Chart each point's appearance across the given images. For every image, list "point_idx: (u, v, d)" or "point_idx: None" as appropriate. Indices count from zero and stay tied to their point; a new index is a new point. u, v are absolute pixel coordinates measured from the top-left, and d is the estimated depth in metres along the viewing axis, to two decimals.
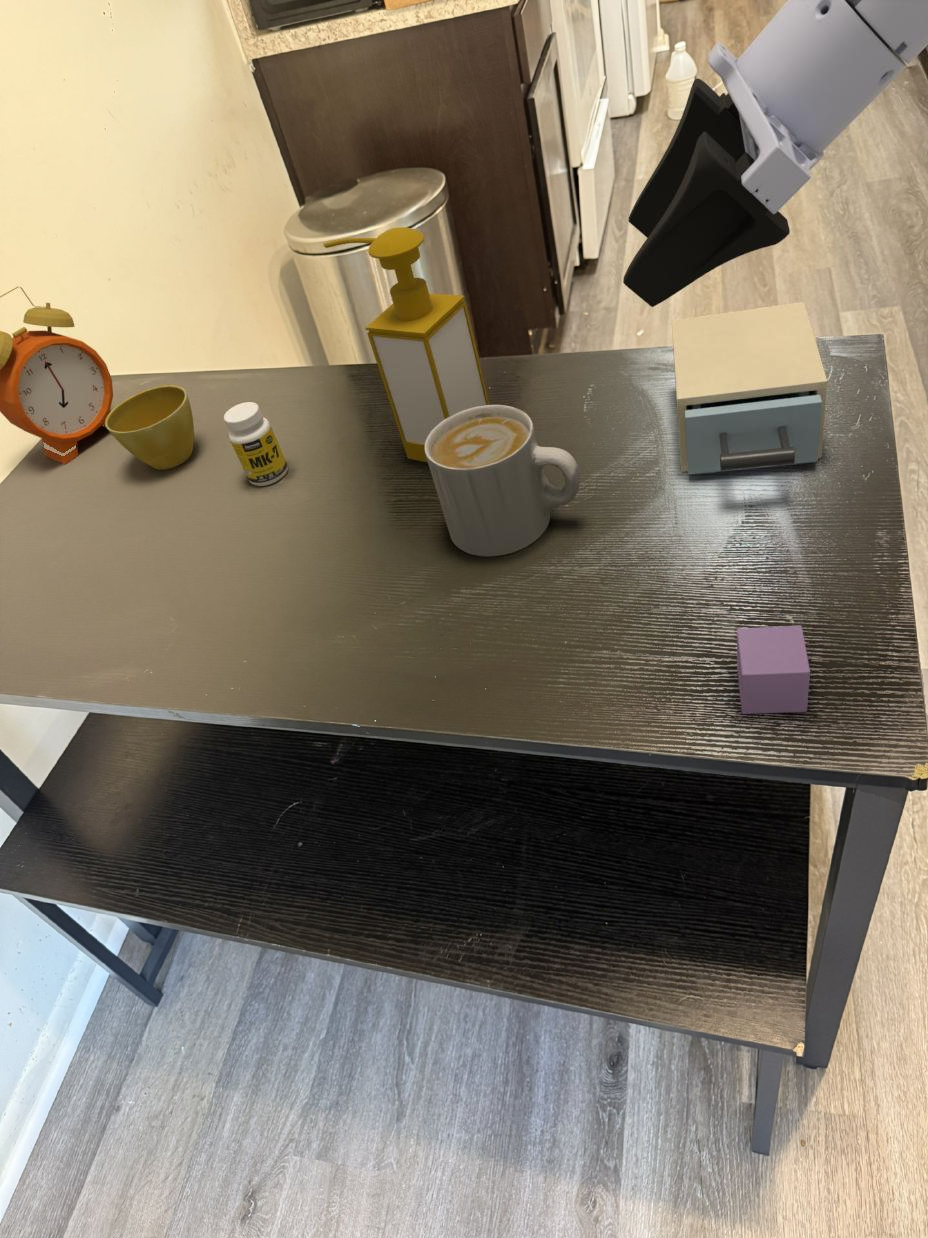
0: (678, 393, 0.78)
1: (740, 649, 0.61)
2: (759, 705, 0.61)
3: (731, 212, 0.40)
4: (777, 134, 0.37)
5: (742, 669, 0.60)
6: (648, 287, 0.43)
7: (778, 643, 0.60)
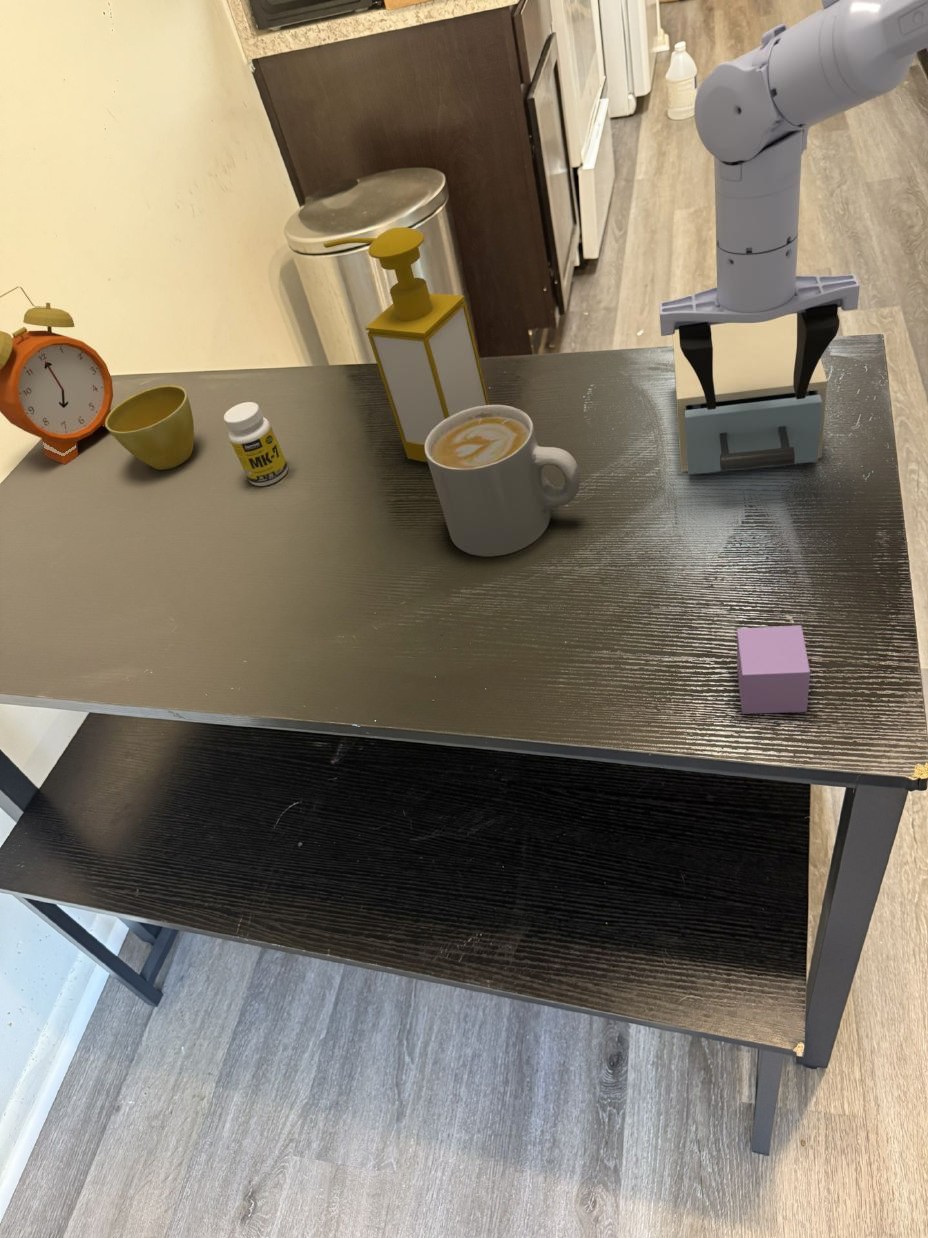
0: (678, 393, 0.78)
1: (740, 649, 0.61)
2: (759, 705, 0.61)
3: None
4: (692, 301, 0.68)
5: (742, 669, 0.60)
6: None
7: (778, 643, 0.60)
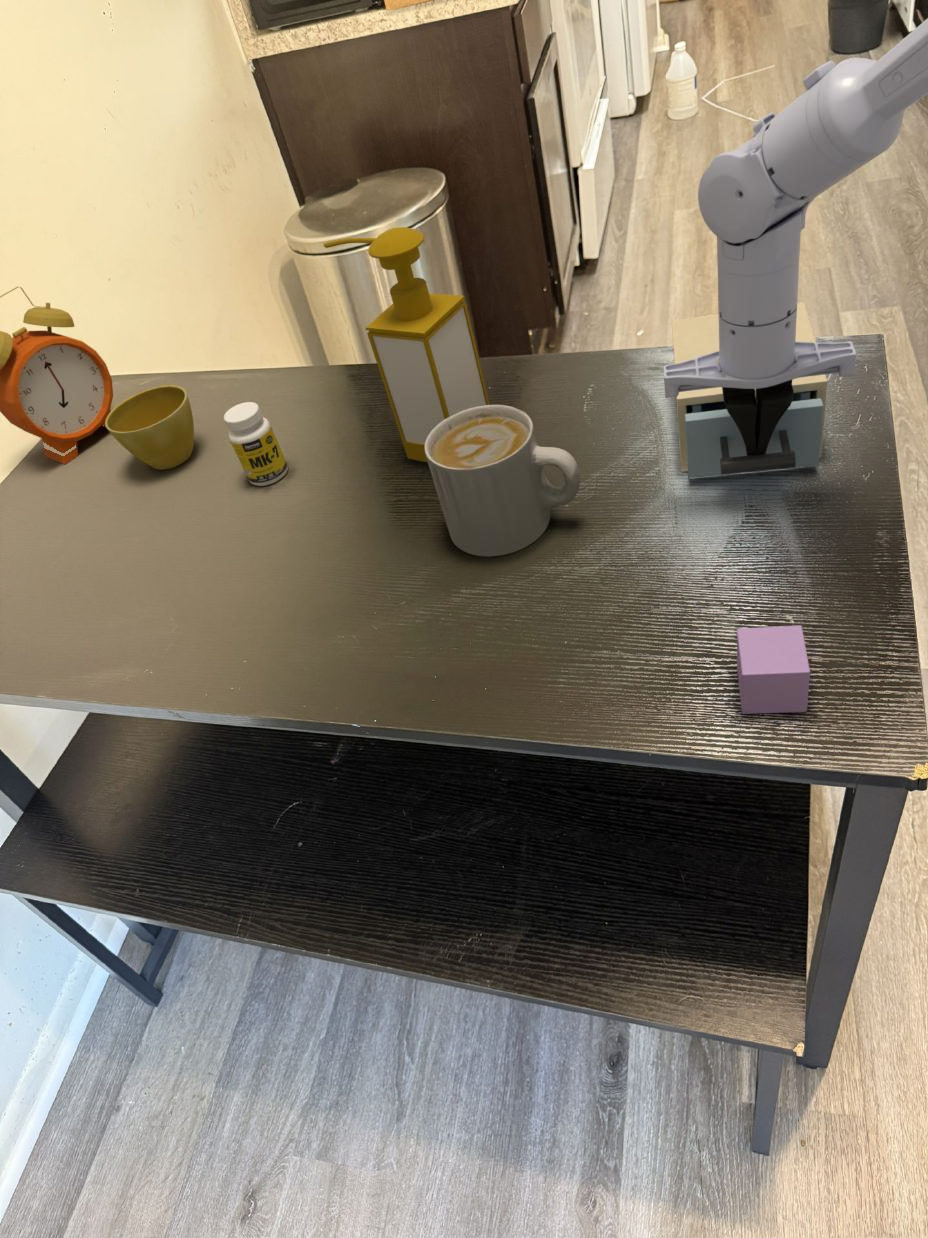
0: None
1: (740, 649, 0.61)
2: (759, 705, 0.61)
3: None
4: (695, 365, 0.71)
5: (742, 669, 0.60)
6: (746, 449, 0.75)
7: (778, 643, 0.60)
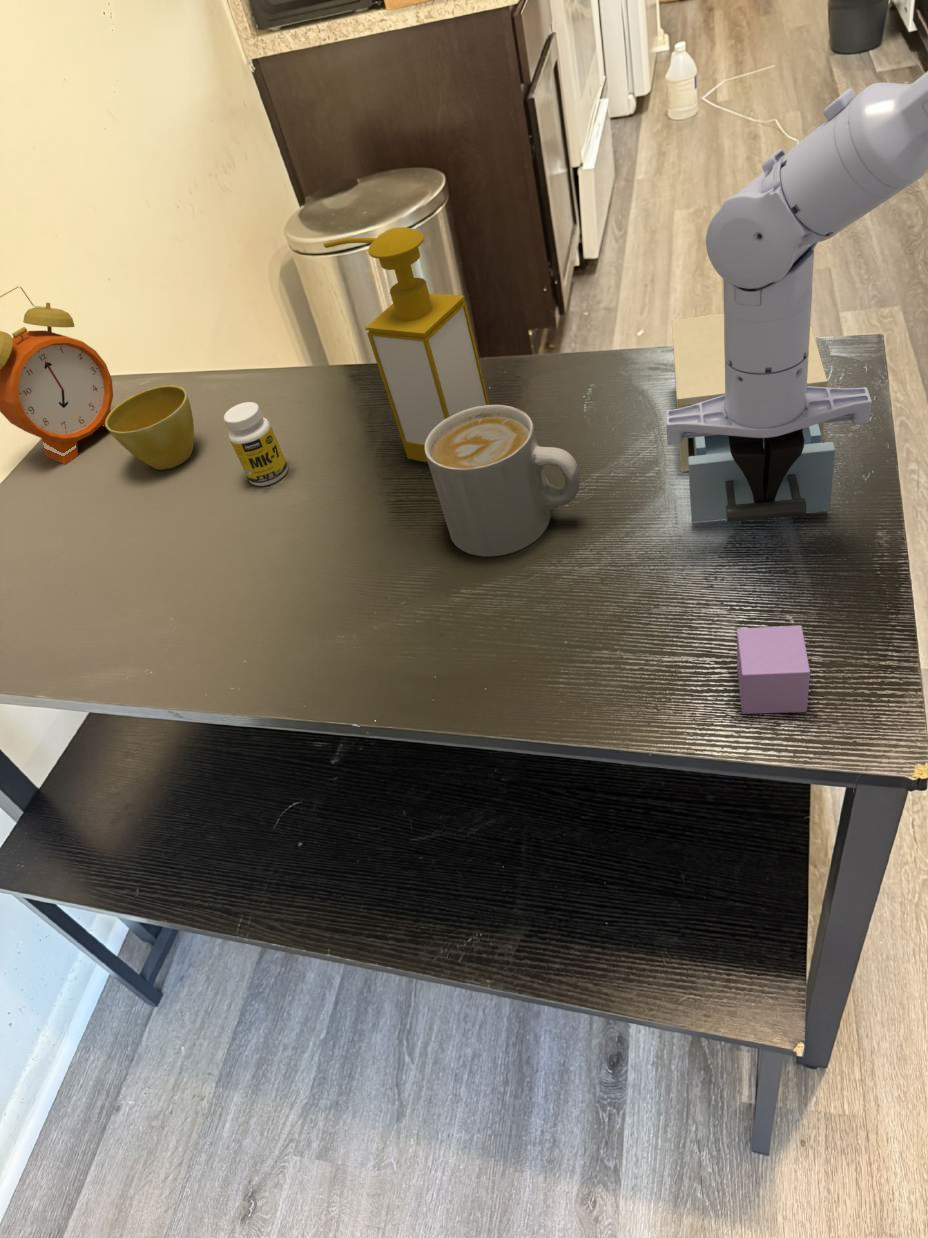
0: (678, 393, 0.78)
1: (740, 649, 0.61)
2: (759, 705, 0.61)
3: None
4: (699, 410, 0.67)
5: (742, 669, 0.60)
6: None
7: (778, 643, 0.60)
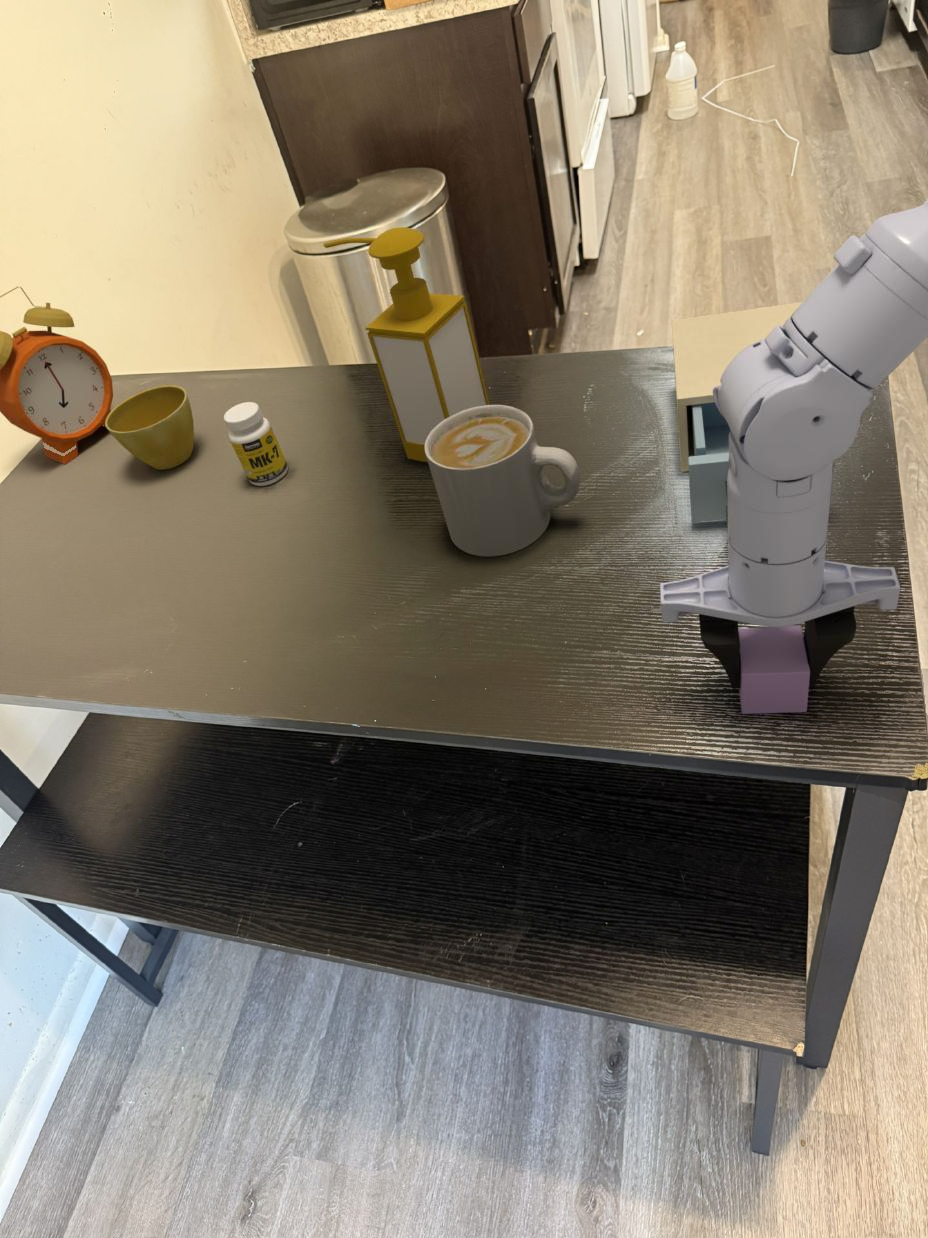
0: (678, 393, 0.78)
1: (740, 649, 0.61)
2: (759, 705, 0.61)
3: None
4: (699, 585, 0.58)
5: (742, 669, 0.60)
6: None
7: (778, 643, 0.60)
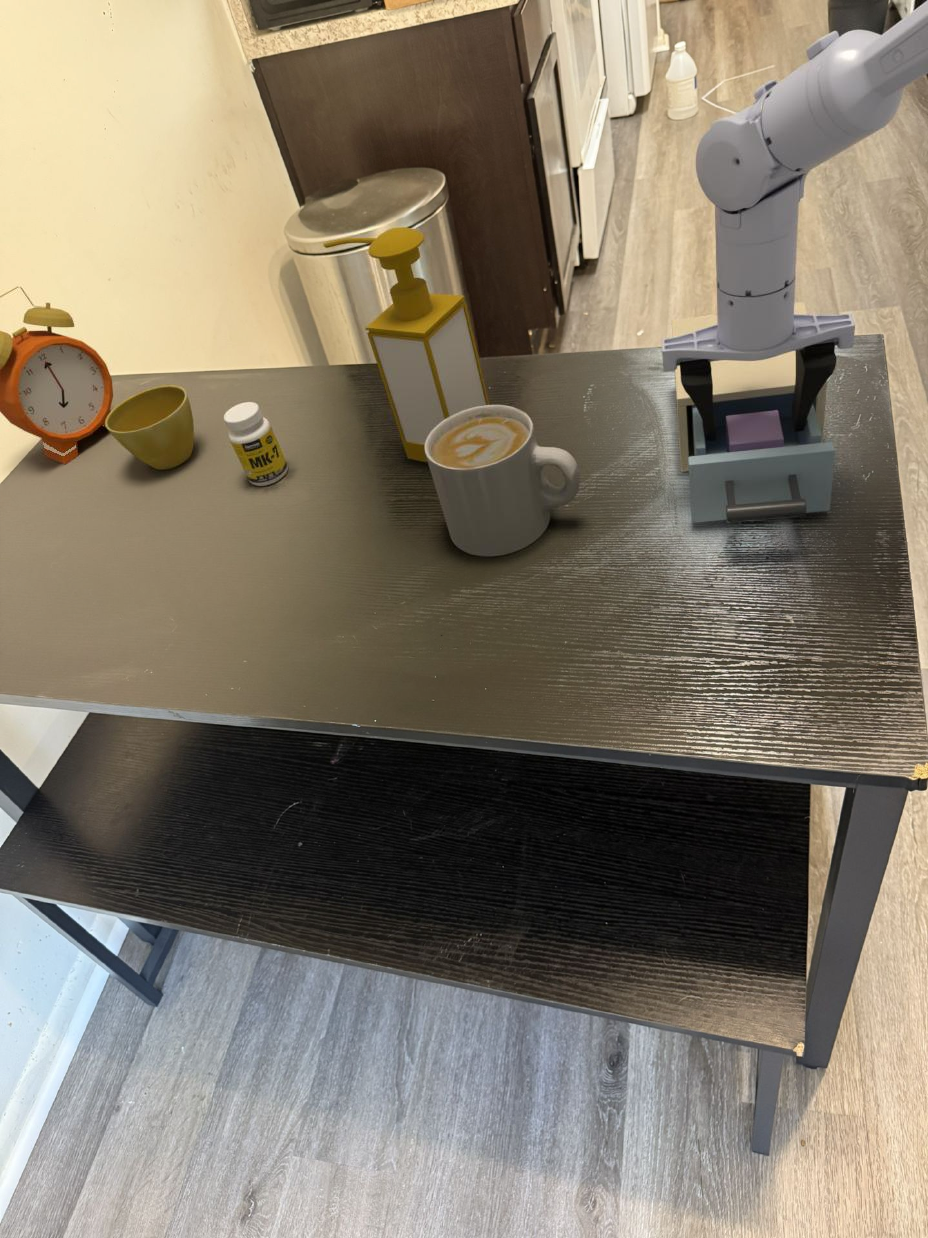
0: (678, 393, 0.78)
1: (728, 428, 0.76)
2: None
3: None
4: (693, 338, 0.71)
5: (730, 440, 0.74)
6: None
7: (759, 422, 0.75)
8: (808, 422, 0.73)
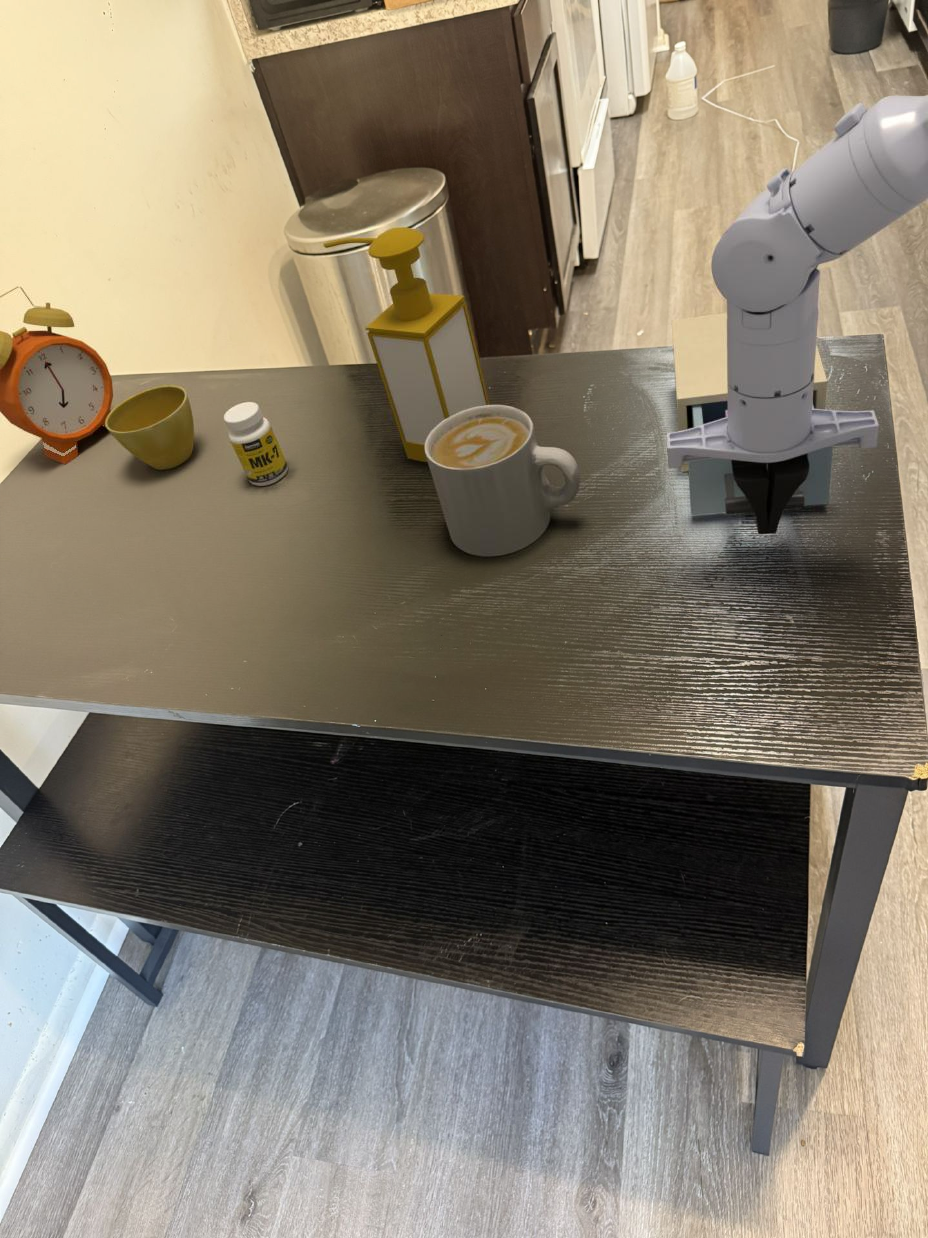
0: (678, 393, 0.78)
1: None
2: None
3: None
4: (701, 433, 0.65)
5: None
6: None
7: None
8: None
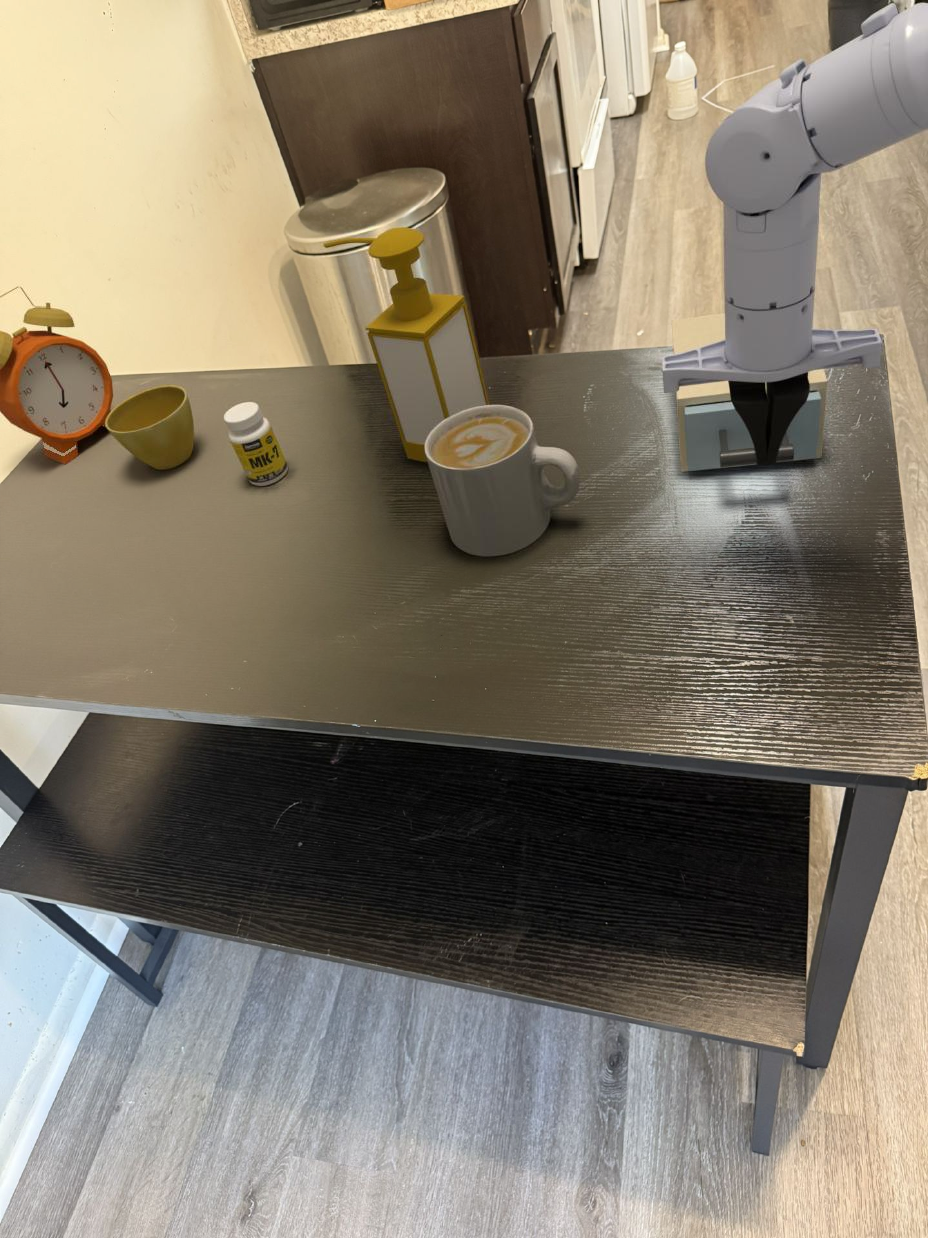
0: (678, 393, 0.78)
1: None
2: None
3: None
4: (698, 356, 0.62)
5: None
6: (755, 451, 0.67)
7: None
8: None
